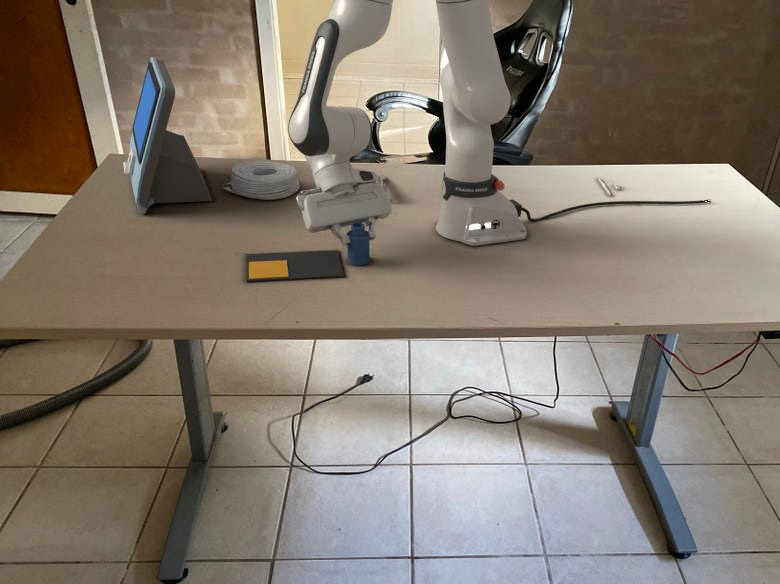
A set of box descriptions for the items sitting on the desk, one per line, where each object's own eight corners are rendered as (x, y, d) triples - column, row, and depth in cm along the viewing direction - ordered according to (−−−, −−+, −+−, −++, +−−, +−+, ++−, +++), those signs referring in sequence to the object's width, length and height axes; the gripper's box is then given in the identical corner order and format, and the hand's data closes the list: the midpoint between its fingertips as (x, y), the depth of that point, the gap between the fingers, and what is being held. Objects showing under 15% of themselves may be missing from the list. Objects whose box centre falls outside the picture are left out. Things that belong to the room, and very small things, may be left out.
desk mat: (337, 251, 167) (337, 249, 167) (344, 277, 157) (343, 274, 156) (246, 255, 163) (246, 253, 162) (246, 282, 152) (246, 279, 152)
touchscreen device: (124, 169, 203) (106, 54, 187) (198, 167, 211) (187, 55, 195) (130, 216, 176) (111, 86, 161) (215, 211, 184) (204, 86, 168)
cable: (218, 190, 195) (215, 167, 191) (268, 174, 207) (266, 153, 204) (263, 207, 187) (261, 184, 183) (313, 190, 199) (311, 168, 196)
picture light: (597, 179, 221) (598, 172, 220) (611, 180, 222) (612, 173, 221) (609, 196, 210) (610, 189, 209) (623, 196, 210) (625, 189, 209)
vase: (367, 255, 166) (367, 220, 162) (370, 265, 162) (370, 229, 158) (346, 256, 165) (345, 221, 161) (349, 266, 161) (348, 230, 157)
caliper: (386, 203, 194) (386, 180, 191) (382, 203, 194) (382, 180, 191) (383, 177, 211) (383, 156, 208) (379, 177, 211) (379, 156, 208)
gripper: (297, 185, 154) (320, 245, 153) (382, 171, 164) (404, 227, 163) (289, 198, 159) (312, 257, 158) (372, 184, 170) (393, 238, 169)
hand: (359, 241), depth 161 cm, fingers closed on vase, 5 cm apart
